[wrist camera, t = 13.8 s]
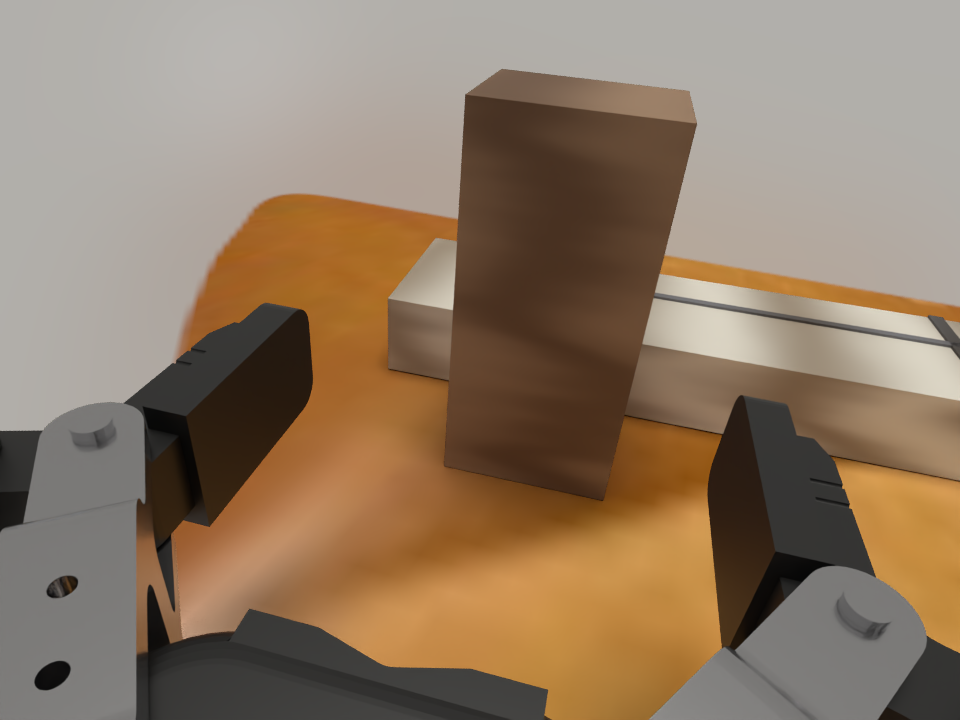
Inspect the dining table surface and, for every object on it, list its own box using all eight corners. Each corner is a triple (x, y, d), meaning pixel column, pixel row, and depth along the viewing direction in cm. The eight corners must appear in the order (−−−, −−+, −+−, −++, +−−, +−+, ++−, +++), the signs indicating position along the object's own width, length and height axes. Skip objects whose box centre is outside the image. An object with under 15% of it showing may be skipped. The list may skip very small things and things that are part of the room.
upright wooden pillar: (618, 350, 27) (682, 64, 21) (603, 500, 19) (697, 123, 13) (501, 329, 28) (531, 47, 22) (444, 465, 20) (465, 94, 14)
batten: (1177, 431, 25) (1234, 364, 23) (1308, 549, 20) (1393, 475, 18) (433, 299, 29) (436, 235, 28) (388, 368, 24) (388, 295, 23)
